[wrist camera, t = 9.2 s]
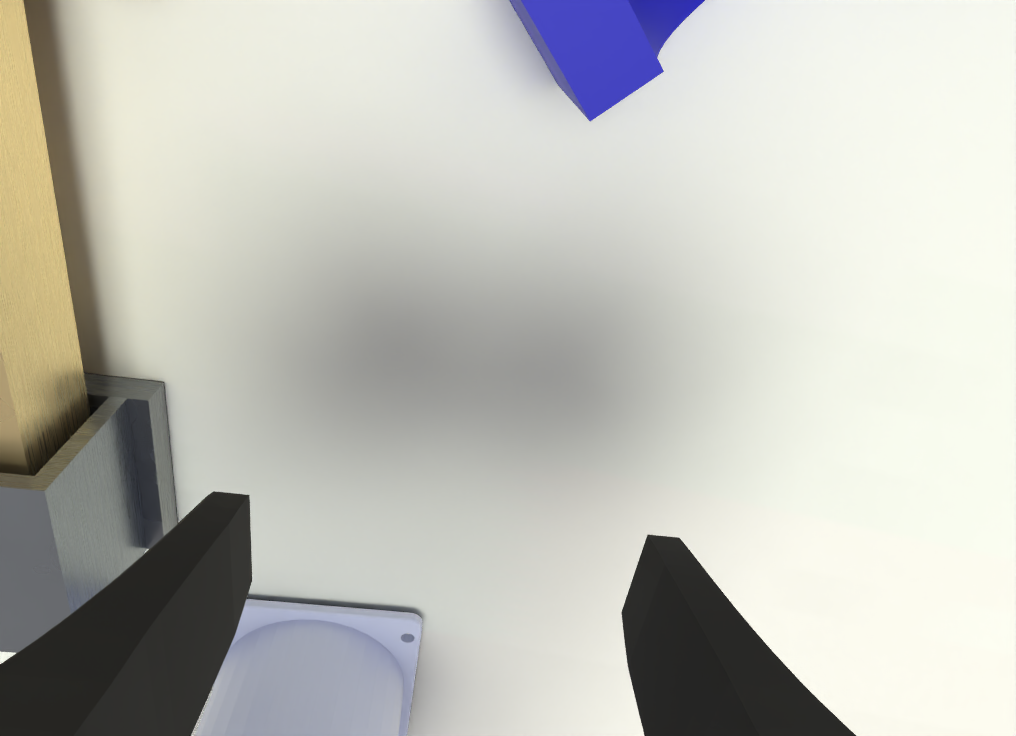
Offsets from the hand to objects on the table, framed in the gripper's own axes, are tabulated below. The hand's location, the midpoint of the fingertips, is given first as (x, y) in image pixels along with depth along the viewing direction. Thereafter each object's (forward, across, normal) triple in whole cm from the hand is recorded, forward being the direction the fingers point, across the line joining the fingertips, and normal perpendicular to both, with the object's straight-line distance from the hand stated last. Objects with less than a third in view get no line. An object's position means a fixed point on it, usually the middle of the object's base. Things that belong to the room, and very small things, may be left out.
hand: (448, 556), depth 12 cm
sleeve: (+9, +12, +6) cm, 16 cm away
